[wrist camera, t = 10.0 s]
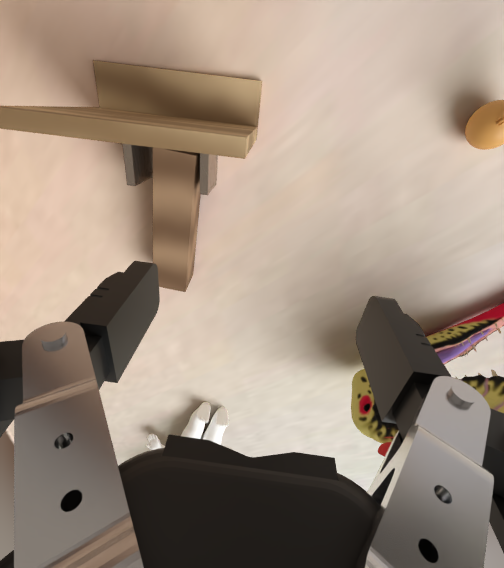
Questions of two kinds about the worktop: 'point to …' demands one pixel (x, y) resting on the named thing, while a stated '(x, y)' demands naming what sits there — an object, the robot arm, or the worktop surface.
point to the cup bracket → (142, 167)
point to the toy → (448, 346)
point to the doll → (200, 426)
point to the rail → (175, 215)
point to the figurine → (486, 126)
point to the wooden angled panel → (154, 111)
